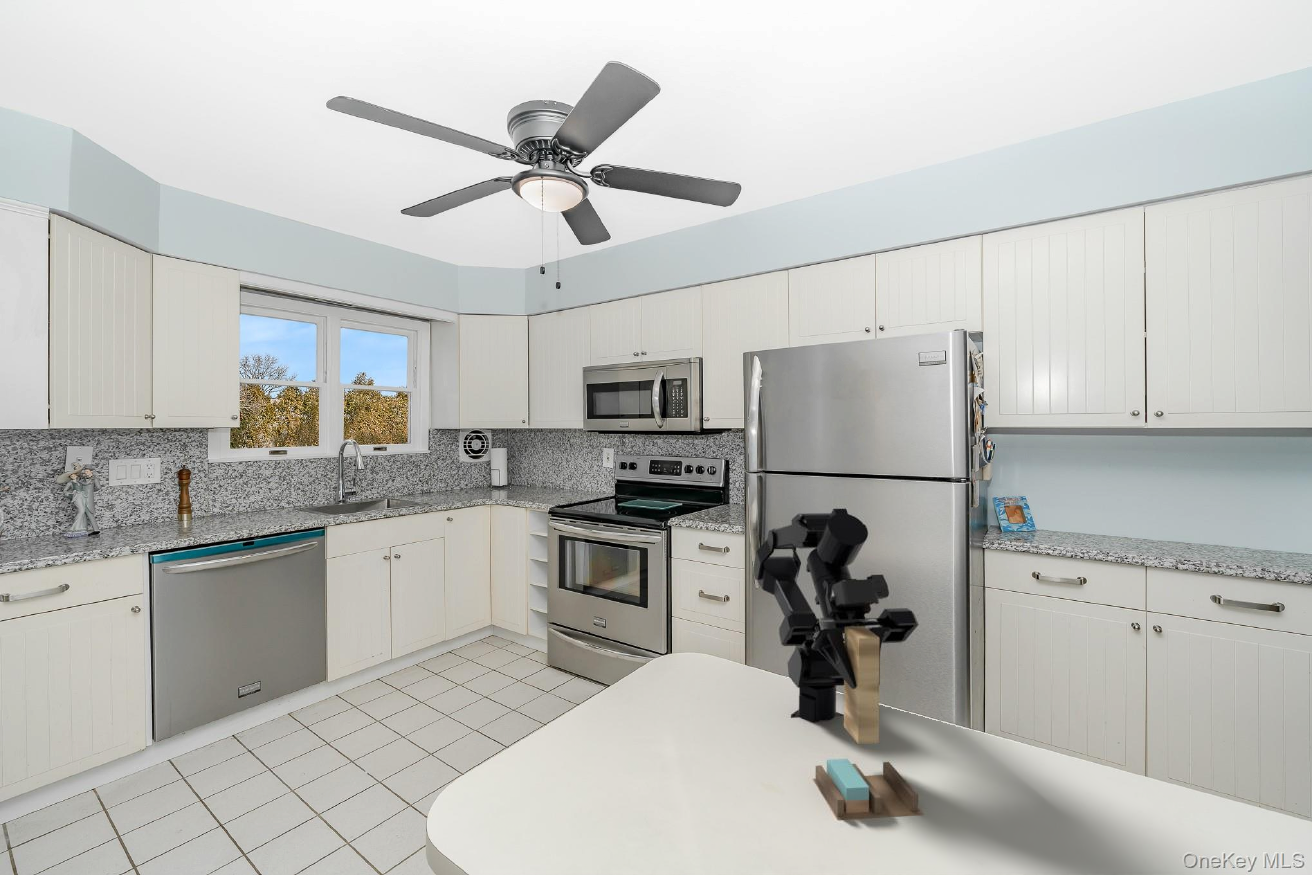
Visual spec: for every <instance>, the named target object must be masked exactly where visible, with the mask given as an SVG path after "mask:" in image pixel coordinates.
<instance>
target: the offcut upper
mask: <svg viewBox="0 0 1312 875" xmlns="http://www.w3.org/2000/svg"><path fill="white" fill-rule="evenodd" d="M852 764H853V763H851V761H850V760H849V758H835V759H826V773H827V772H828V774H829V775H830V777H831V778H832V780H833V781H834V783H835V784H836V786H837V788H838V789H839V791H840V792H841V794H842V795H843V797H844V798H845V800H846V801H853V800H869V786H868V785H867V784H866V782H865V781H864V780H863V779H862V777H861V776H860V775H859V773H858V772H857V771H856V769H855V768H854V767H853V765H852Z"/></svg>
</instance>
